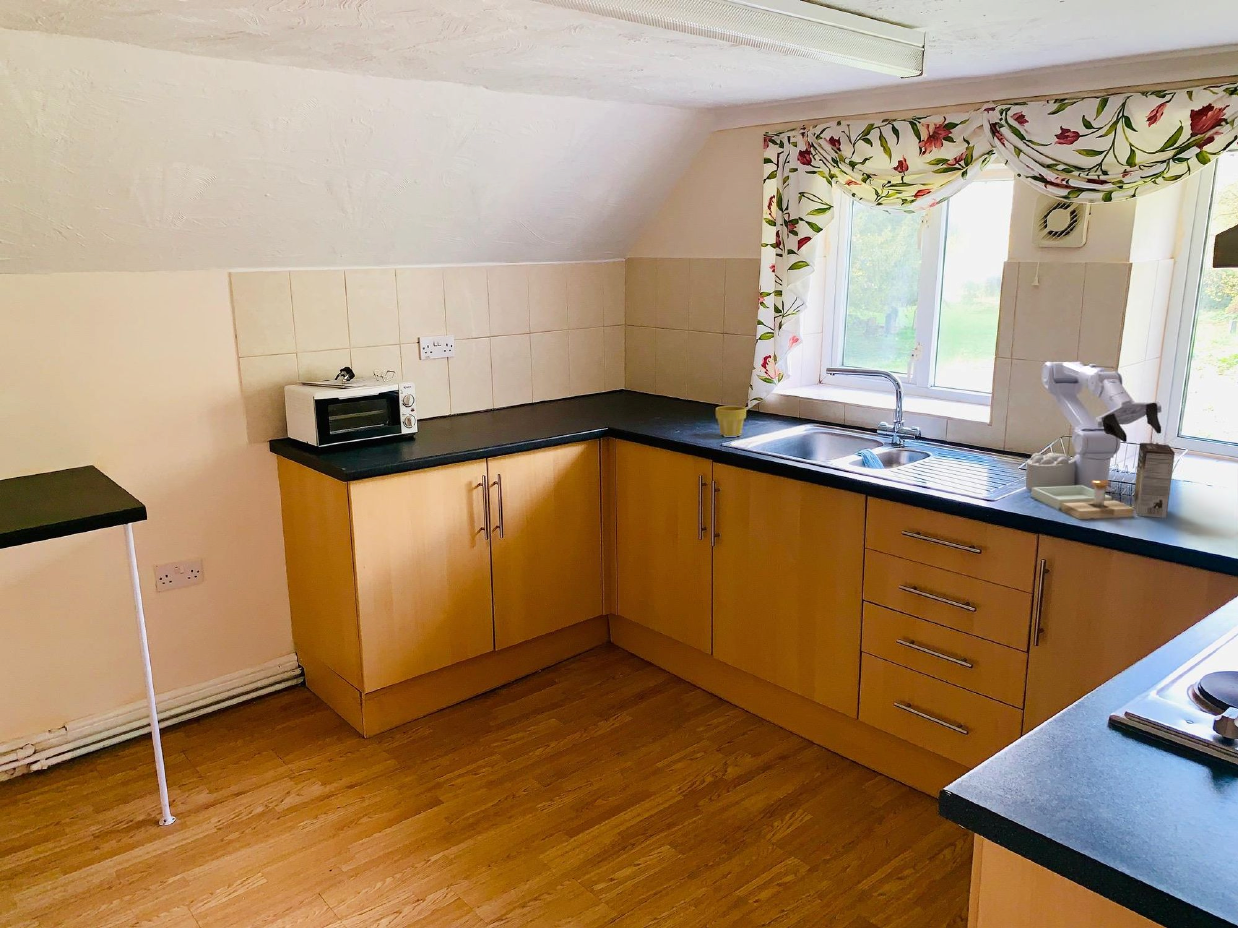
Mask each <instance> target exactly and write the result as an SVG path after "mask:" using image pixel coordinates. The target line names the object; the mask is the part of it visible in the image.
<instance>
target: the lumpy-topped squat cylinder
mask: <svg viewBox="0 0 1238 928" xmlns="http://www.w3.org/2000/svg"><path fill="white" fill-rule="evenodd" d="M1073 458H1074V457H1073ZM1073 458H1071V457H1070V456H1069V455H1067V454H1064V453H1063V454H1062V453H1057V452H1048V453H1047V454H1044V455H1043V454H1042V453H1040V452H1034V453H1033V454H1032V455H1031V457H1030V458H1028V459H1027V461H1026V469H1025V470H1026V471H1025V474H1026V475H1025V488H1026V489H1027V488H1028V489H1027V490H1029V491H1031V489H1032V488H1035V487H1056V486H1075V475H1076V460H1075V459H1073Z"/></svg>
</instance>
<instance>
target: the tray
mask: <svg viewBox="0 0 1238 928" xmlns="http://www.w3.org/2000/svg"><path fill="white" fill-rule="evenodd" d="M1030 492H1031V493H1030V498H1032V499H1035V500H1037V501H1038V502H1041V503H1042V504H1045V505H1047V506H1050V507H1051V508H1054V509H1056V510H1062V505H1063V503H1079V502H1093V498H1094V490H1093V489H1090V488H1088V487H1085V486H1083V485H1076V486H1056V487H1035V488H1032V489H1031V490H1030ZM1105 501H1113V497H1112V496H1111V495H1108V494H1106V493H1105Z"/></svg>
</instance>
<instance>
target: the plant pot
mask: <svg viewBox="0 0 1238 928" xmlns="http://www.w3.org/2000/svg"><path fill="white" fill-rule="evenodd" d="M715 418H716V419H717V423H718V426H719V431H720V432H719V433H720V435H721V434H722V435H725V436H739V435H741V436H742V430H743V425H744V421H745V419H746V418H747V407H744V406H738V405H723V406H718V407H716V408H715Z"/></svg>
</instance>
